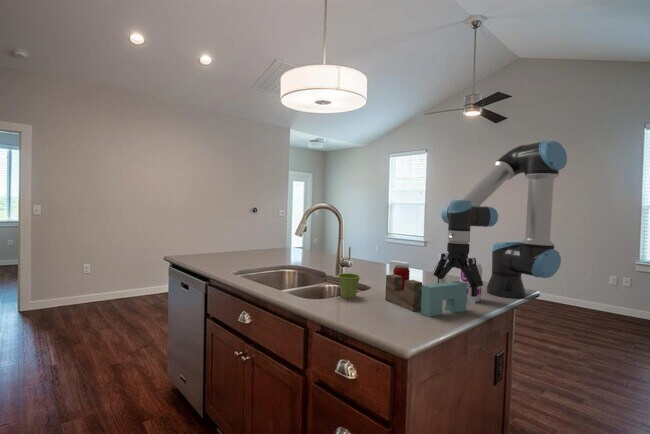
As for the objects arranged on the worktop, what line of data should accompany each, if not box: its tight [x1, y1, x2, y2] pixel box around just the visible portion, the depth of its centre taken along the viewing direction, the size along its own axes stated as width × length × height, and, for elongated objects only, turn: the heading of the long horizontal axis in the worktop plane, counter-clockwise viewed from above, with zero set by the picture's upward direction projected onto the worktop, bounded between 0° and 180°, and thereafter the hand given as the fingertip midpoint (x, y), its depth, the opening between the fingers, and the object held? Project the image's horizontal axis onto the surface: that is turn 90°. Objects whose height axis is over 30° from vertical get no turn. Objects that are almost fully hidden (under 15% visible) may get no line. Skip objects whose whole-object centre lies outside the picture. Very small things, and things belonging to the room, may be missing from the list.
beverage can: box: [393, 265, 411, 290], centre depth 147 cm, size 7×7×12 cm
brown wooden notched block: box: [384, 274, 423, 312], centre depth 131 cm, size 4×16×10 cm, turn 28°
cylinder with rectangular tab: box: [388, 260, 410, 275], centre depth 159 cm, size 9×9×12 cm
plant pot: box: [337, 272, 362, 299], centre depth 141 cm, size 9×9×9 cm
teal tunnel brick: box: [420, 280, 467, 317], centre depth 123 cm, size 18×4×10 cm, turn 118°
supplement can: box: [459, 262, 483, 303], centre depth 141 cm, size 8×8×15 cm
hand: (455, 300), depth 126 cm, fingers open, 13 cm apart
